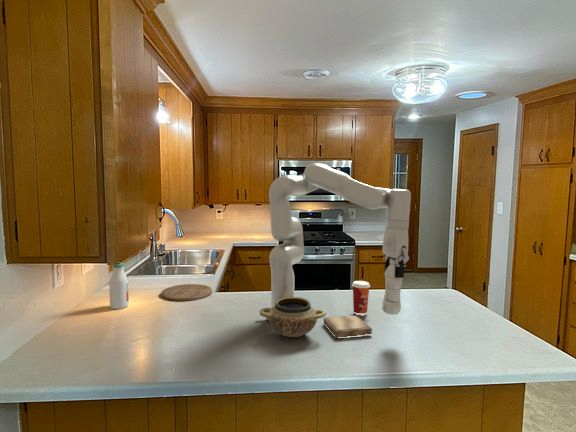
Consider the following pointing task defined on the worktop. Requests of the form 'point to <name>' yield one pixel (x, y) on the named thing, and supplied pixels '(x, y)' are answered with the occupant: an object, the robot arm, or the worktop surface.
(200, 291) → the trivet
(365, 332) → the plinth
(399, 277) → the robot arm
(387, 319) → the worktop surface
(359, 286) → the paper cup
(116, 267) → the milk bottle
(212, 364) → the worktop surface
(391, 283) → the plastic bottle
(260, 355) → the worktop surface
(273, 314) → the ceramic bowl
